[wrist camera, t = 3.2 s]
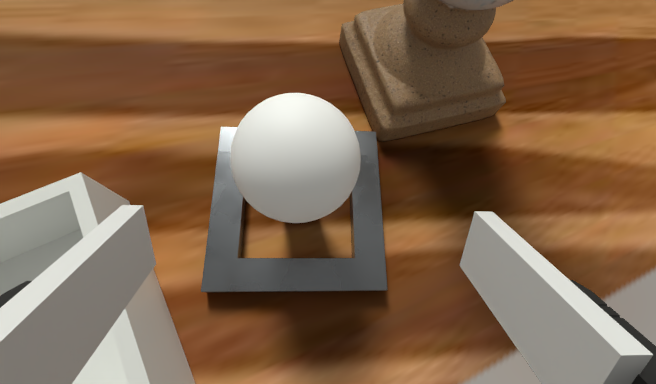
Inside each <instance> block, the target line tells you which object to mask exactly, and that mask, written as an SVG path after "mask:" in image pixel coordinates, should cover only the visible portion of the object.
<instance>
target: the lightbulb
mask: <svg viewBox="0 0 656 384" xmlns="http://www.w3.org/2000/svg"><path fill="white" fill-rule="evenodd" d="M230 161H231V170H232V175H233V178H234V180H235V183H236V185H237V187H238V189H239V191H240V193H241V194H242V195H243V197H244V198H245V199H246V201H247V202H248V203H249V204H250V205H251V206H252V207H254V208H255V209H256V210H257V211H259V212H260V213H262V214H264V215H266V216H267V217H270V218H273V219H276V220H279V221H282V222H289V223H306V222H310V221H314V220H318V219H320V218H322V217H324V216H326V215H328V214H330V213H332V212H333V211H334V210H336V209H337V208H338V207H340V206H341V205H342V204H343V203H344V202H345V200H346V199H347V198H348V197H349V195H350V194H351V192H352V190H353V188H354V186H355V184H356V182H357V179H358V175H359V172H360V162H361V155H360V147H359V142H358V139H357V137H356V134H355V131H354V129H353V127H352V125H351V124H350V122H349V120H348V119H347V118H346V117H345V116H344V115H343V113H342V112H341V111H340V110H338V109H337V108H336V107H334V106H333V105H332V104H330V103H329V102H327V101H325V100H323V99H321V98H319V97H316V96H313V95H310V94H303V93H286V94H281V95H277V96H274V97H271V98H268V99H266V100H265V101H263V102H261V103H259V104H258V105H257V106H255V107H254V108H253V109H252V110H251V111H249V112H248V113H247V114H246V116H245V117H244V118H243V119H242V121H241V122H240V124H239V126H238V128H237V130H236V132H235V135H234V138H233V141H232V145H231V158H230Z"/></svg>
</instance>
